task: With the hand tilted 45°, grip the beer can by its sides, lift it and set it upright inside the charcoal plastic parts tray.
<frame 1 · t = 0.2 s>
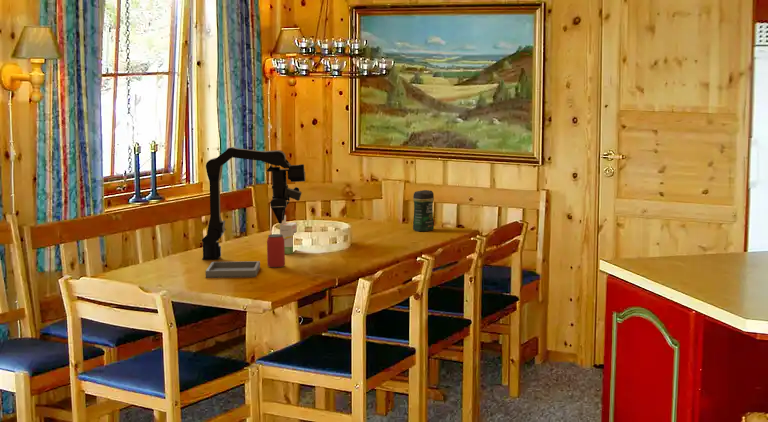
hand: (281, 221, 412), 14 cm above the table, tool pointing down, fingers open, 9 cm apart
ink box: (288, 252, 427), on the table
parts tray: (233, 272, 385), on the table
beer can: (276, 267, 396), on the table
coffee jar: (423, 230, 480), on the table
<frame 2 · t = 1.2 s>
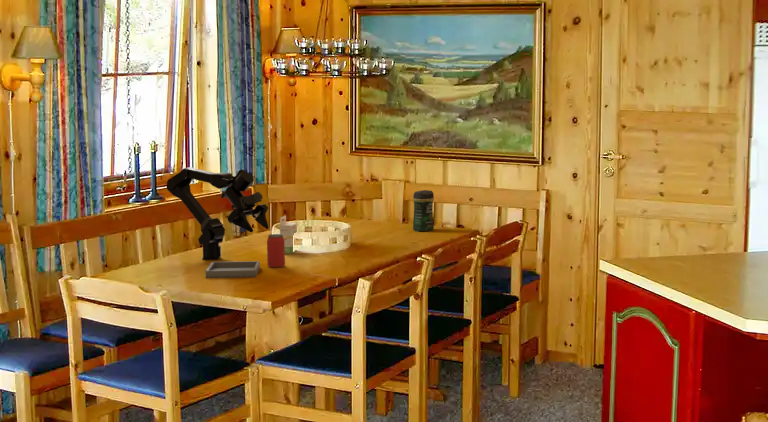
hand: (260, 230, 399), 13 cm above the table, tool tilted 45°, fingers open, 9 cm apart
nothing on the table moved.
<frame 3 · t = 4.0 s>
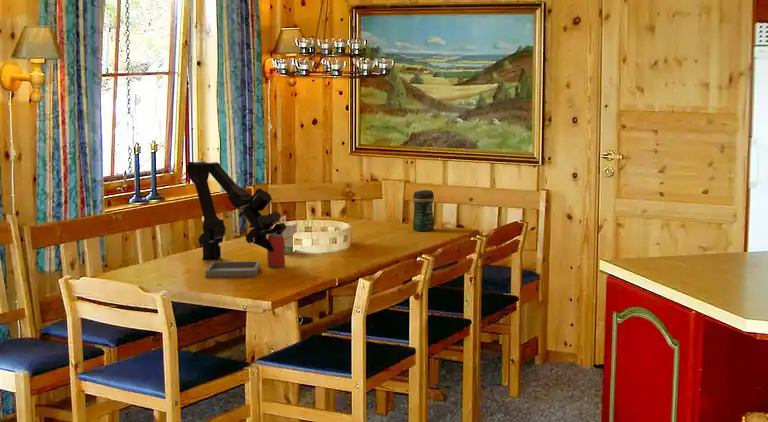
hand: (278, 249, 394), 7 cm above the table, tool tilted 45°, fingers closed on beer can, 6 cm apart
beer can: (276, 266, 396), on the table, touching gripper
everything else where it was.
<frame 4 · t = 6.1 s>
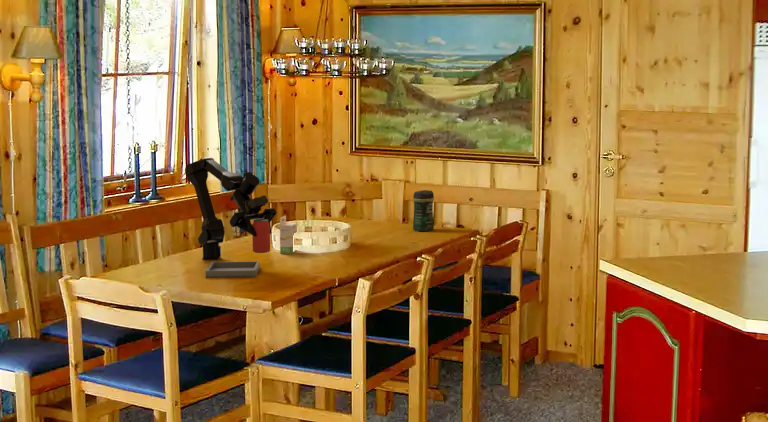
hand: (263, 234, 388), 13 cm above the table, tool tilted 45°, fingers closed on beer can, 6 cm apart
beer can: (261, 252, 390), point 6 cm above the table, touching gripper
everything else where it was.
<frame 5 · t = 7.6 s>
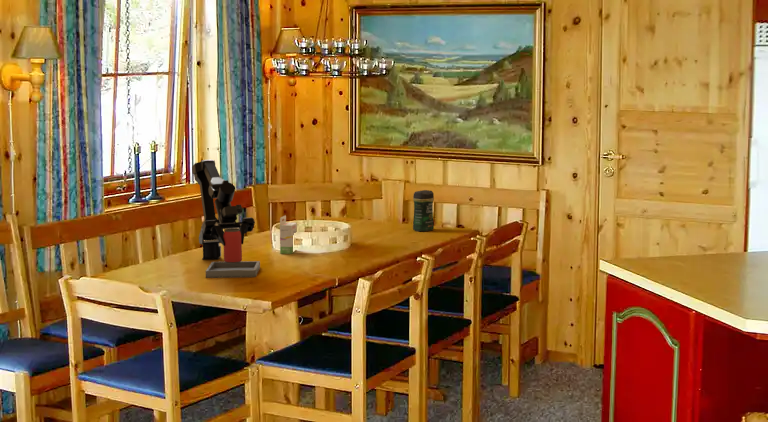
hand: (233, 244, 382), 11 cm above the table, tool tilted 45°, fingers closed on beer can, 6 cm apart
beer can: (233, 262, 384), point 4 cm above the table, touching gripper
everything else where it was.
when the fingers open (8 cm above the table, at t = 8.6 s): beer can stays where it is, resting on parts tray.
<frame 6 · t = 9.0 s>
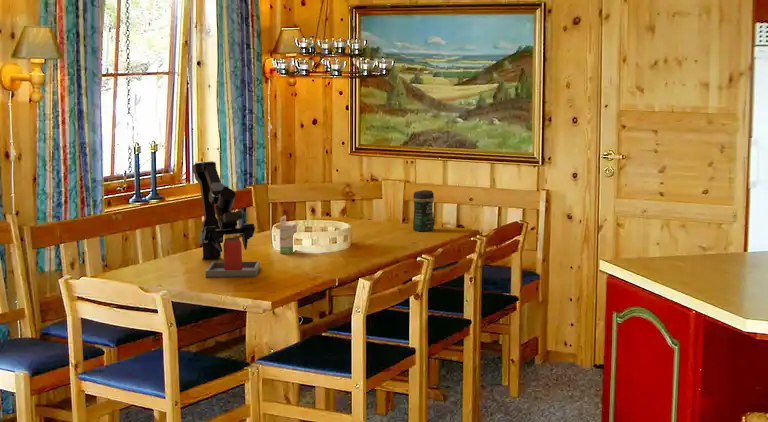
hand: (233, 250, 382), 9 cm above the table, tool tilted 45°, fingers open, 9 cm apart
beer can: (233, 271, 385), resting on parts tray
everything else where it was.
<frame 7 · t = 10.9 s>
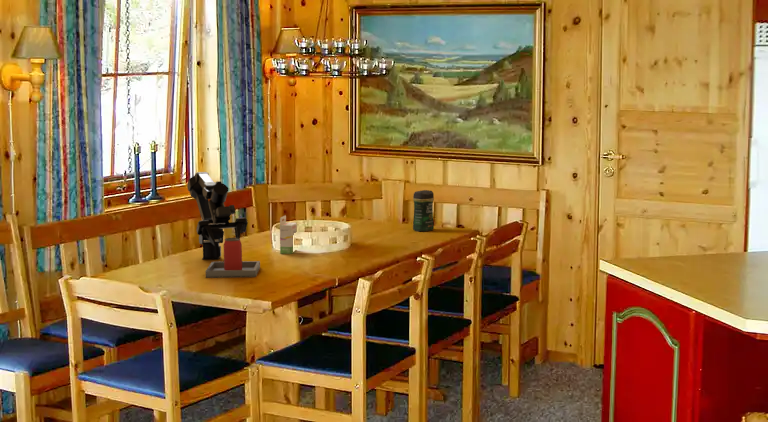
hand: (226, 244, 391), 10 cm above the table, tool tilted 45°, fingers open, 9 cm apart
nothing on the table moved.
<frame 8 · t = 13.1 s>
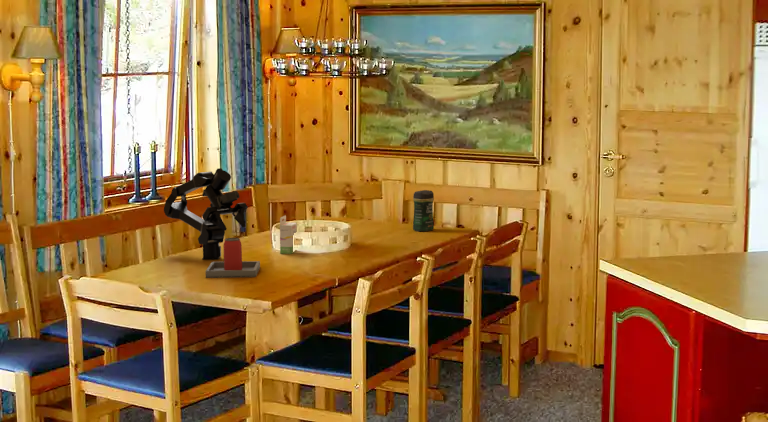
hand: (235, 228, 402), 14 cm above the table, tool tilted 45°, fingers open, 9 cm apart
nothing on the table moved.
at the end: beer can inside the target area on the parts tray (0.2 cm from its centre), point 0.4 cm above the parts tray's base; beer can tilted 0°; the gripper is holding nothing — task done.
